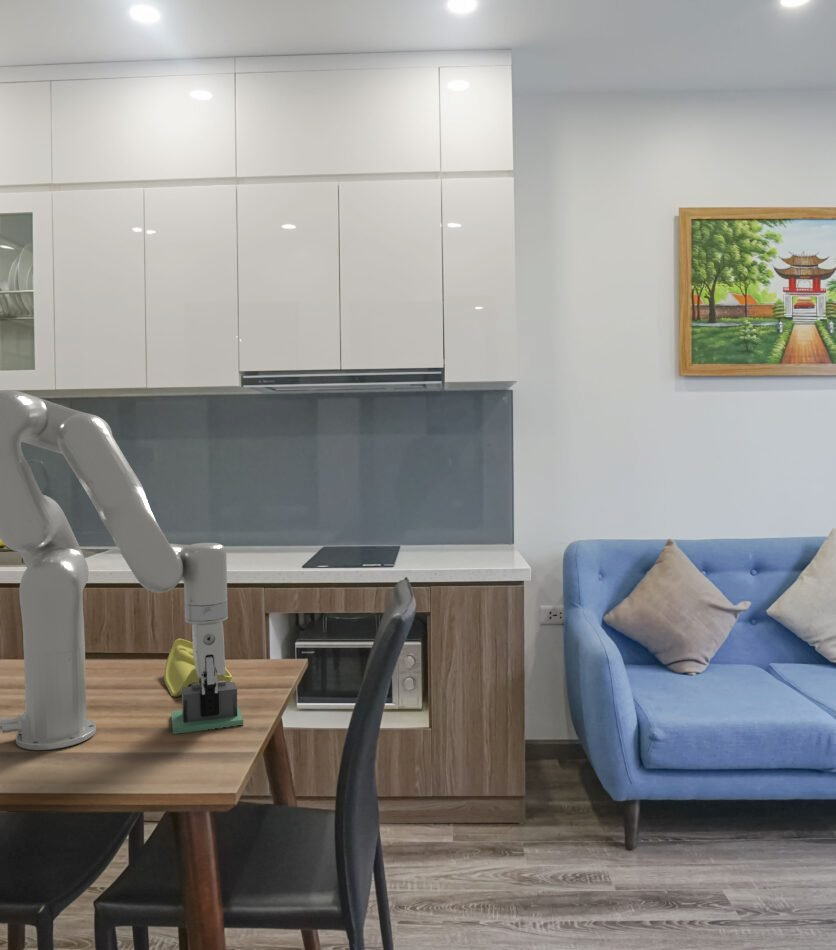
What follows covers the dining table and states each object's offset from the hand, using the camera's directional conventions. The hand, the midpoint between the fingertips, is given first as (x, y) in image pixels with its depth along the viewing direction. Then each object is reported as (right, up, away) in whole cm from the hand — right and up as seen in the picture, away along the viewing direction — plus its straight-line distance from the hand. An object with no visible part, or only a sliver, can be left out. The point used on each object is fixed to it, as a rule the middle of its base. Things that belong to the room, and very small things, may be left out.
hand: (208, 709), depth 141 cm
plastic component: (-9, -1, +23) cm, 25 cm away
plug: (0, -1, 0) cm, 1 cm away
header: (0, -2, 0) cm, 2 cm away
